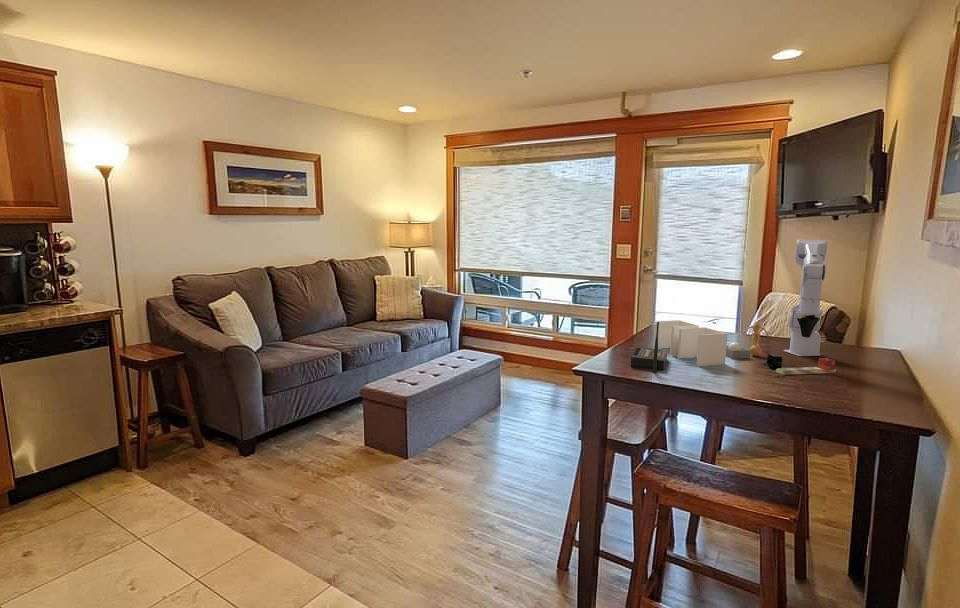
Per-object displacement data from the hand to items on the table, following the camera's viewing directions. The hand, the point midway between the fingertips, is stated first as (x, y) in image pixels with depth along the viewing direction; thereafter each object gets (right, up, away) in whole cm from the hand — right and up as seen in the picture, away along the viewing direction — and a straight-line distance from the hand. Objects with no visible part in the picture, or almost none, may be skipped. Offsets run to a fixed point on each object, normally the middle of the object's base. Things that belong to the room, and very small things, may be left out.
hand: (805, 337), depth 177 cm
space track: (-7, -11, -10) cm, 16 cm away
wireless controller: (-56, -10, -4) cm, 57 cm away
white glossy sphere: (-20, -7, +10) cm, 23 cm away
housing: (-20, -8, +10) cm, 24 cm away
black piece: (-13, -11, -4) cm, 17 cm away
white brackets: (-38, -8, +9) cm, 40 cm away
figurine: (-12, -8, +11) cm, 18 cm away
